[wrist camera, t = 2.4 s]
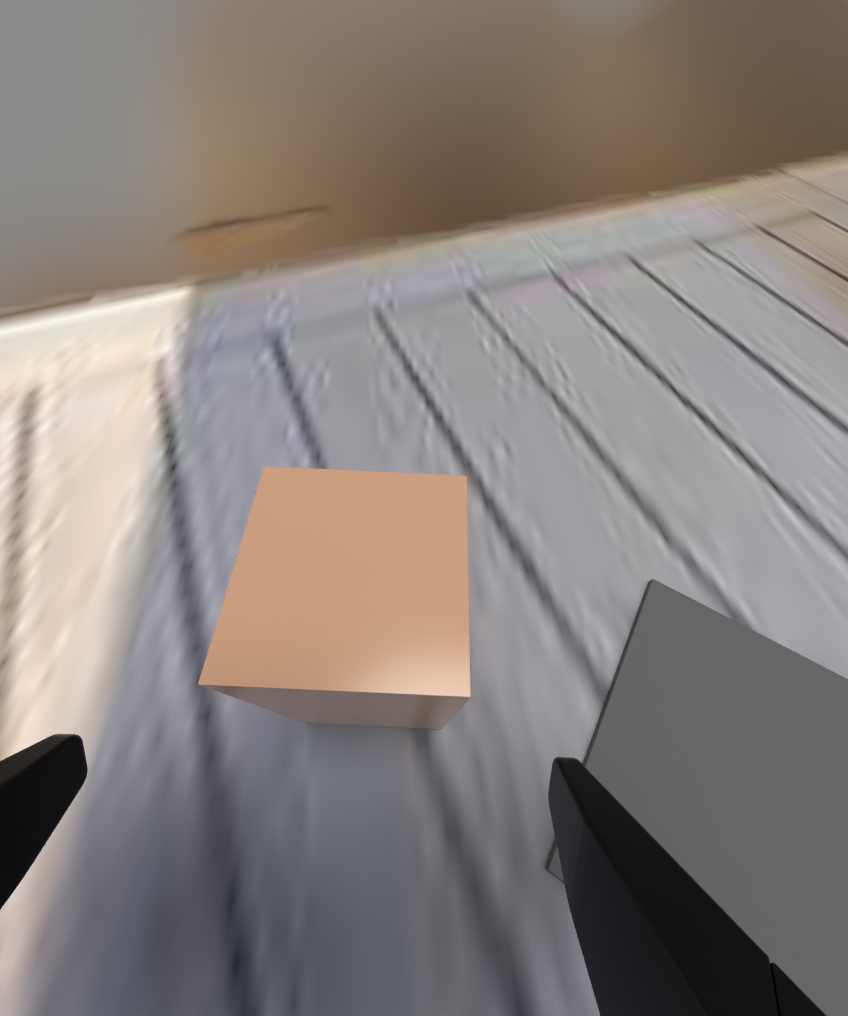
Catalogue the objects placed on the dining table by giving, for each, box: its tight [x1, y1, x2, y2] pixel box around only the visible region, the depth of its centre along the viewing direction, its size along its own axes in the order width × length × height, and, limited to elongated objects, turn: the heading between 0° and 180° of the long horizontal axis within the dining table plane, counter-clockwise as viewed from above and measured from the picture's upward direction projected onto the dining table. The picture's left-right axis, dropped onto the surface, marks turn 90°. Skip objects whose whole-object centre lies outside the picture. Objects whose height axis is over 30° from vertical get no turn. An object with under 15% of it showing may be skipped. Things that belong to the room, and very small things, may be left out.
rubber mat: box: [546, 579, 848, 1016], centre depth 17 cm, size 14×14×1 cm
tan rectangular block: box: [198, 466, 470, 729], centre depth 15 cm, size 6×6×11 cm
